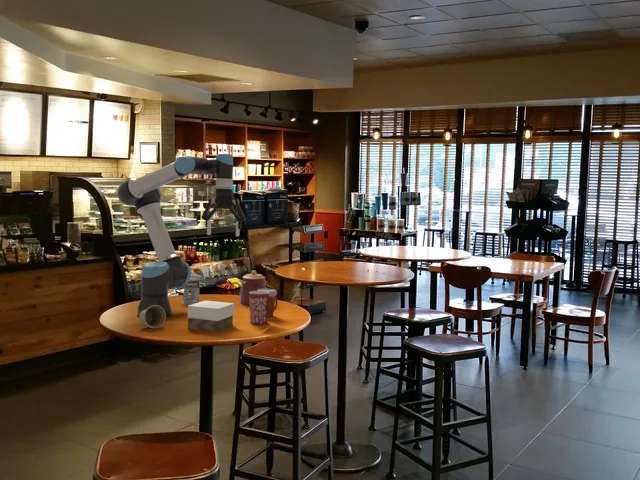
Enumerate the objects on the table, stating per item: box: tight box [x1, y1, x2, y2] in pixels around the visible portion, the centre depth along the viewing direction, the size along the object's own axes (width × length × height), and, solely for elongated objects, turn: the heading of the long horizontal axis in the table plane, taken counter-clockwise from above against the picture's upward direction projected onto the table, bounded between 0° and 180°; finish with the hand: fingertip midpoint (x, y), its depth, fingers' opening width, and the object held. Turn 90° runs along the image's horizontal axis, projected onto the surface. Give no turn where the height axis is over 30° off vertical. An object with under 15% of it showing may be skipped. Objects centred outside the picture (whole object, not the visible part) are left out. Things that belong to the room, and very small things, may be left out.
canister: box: [239, 269, 267, 306], centre depth 319 cm, size 13×13×18 cm
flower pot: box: [138, 305, 167, 329], centre depth 263 cm, size 9×9×9 cm
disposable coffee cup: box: [257, 288, 278, 318], centre depth 292 cm, size 10×10×12 cm
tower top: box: [187, 300, 235, 321], centre depth 265 cm, size 14×14×5 cm
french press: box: [177, 253, 201, 305], centre depth 318 cm, size 10×12×25 cm
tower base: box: [187, 315, 234, 333], centre depth 265 cm, size 14×14×5 cm
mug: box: [249, 291, 278, 325], centre depth 276 cm, size 13×9×14 cm
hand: (223, 235), depth 287 cm, fingers open, 13 cm apart
